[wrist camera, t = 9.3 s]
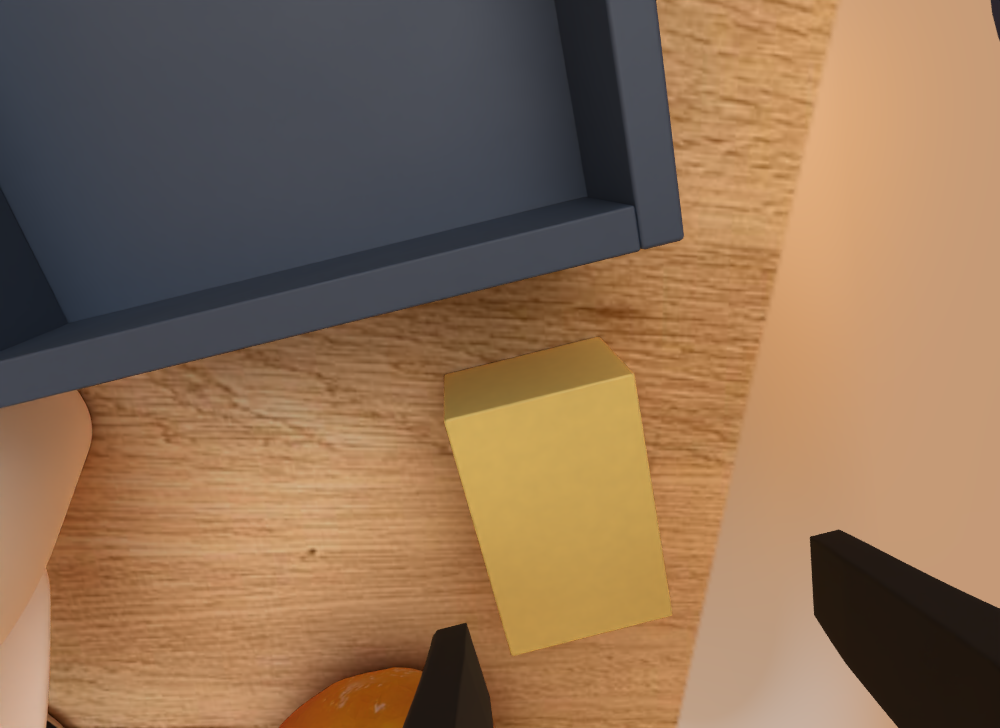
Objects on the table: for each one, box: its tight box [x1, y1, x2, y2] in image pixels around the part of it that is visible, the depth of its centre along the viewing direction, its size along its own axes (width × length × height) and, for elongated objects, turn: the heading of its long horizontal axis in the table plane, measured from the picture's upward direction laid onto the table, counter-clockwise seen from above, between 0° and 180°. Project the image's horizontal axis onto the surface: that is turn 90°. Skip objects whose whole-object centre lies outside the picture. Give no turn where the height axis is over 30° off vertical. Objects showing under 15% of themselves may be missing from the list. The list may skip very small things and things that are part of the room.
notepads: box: [444, 337, 672, 656], centre depth 18 cm, size 5×8×4 cm, turn 13°
